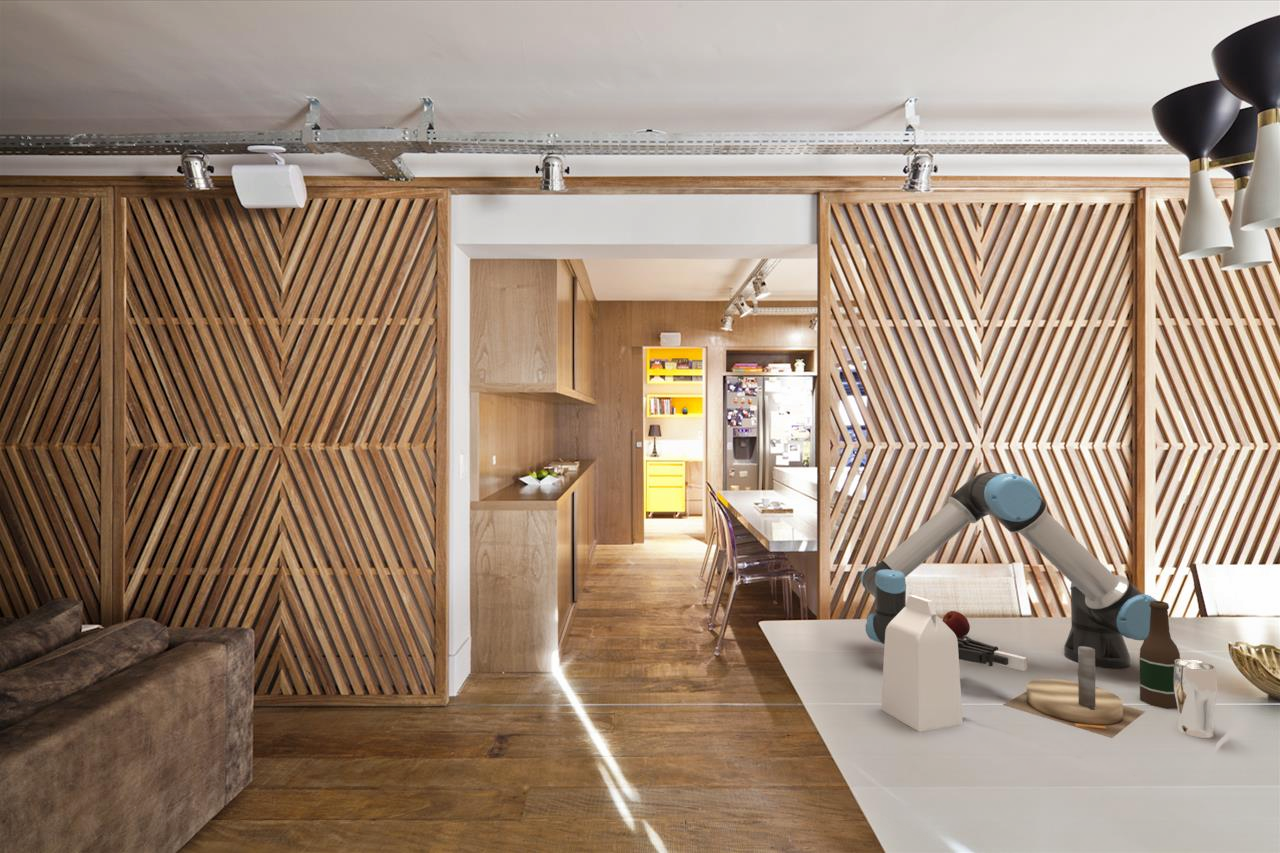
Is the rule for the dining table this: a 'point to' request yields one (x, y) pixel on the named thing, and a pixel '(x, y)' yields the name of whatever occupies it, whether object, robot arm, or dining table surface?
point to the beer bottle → (1158, 660)
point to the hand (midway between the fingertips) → (1025, 664)
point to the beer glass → (1195, 696)
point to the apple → (957, 623)
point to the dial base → (1101, 729)
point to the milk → (921, 669)
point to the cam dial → (1076, 695)
